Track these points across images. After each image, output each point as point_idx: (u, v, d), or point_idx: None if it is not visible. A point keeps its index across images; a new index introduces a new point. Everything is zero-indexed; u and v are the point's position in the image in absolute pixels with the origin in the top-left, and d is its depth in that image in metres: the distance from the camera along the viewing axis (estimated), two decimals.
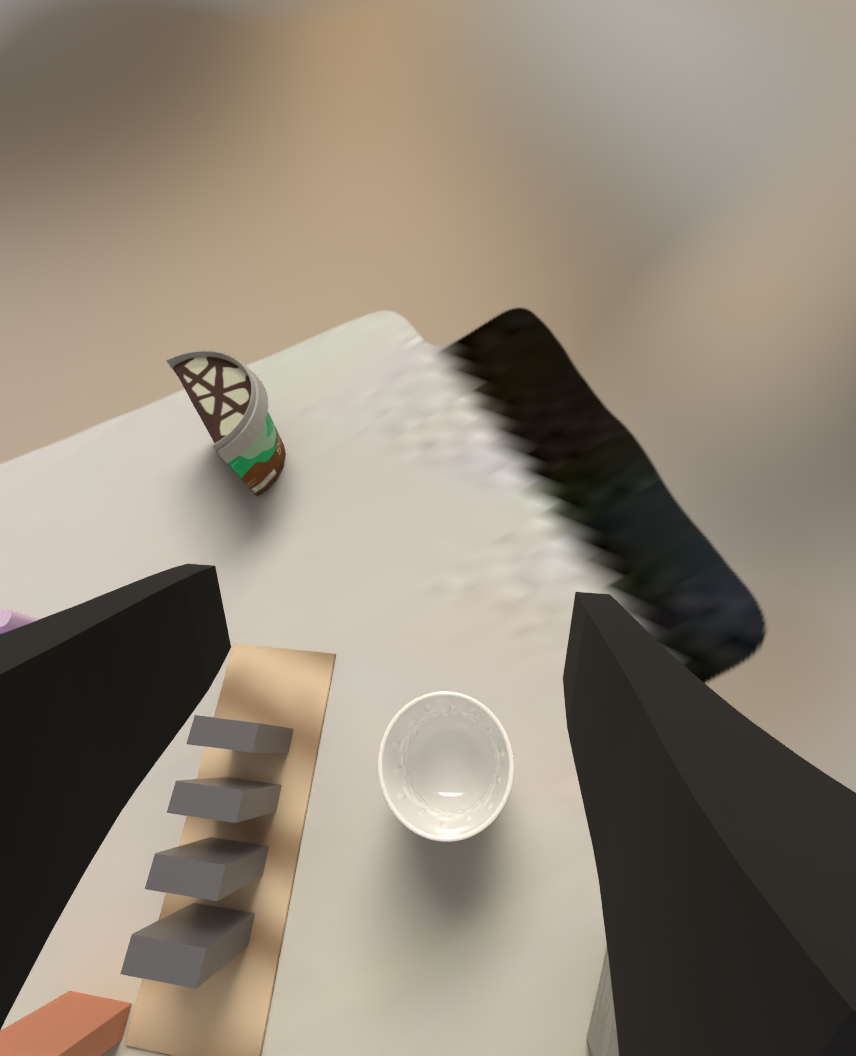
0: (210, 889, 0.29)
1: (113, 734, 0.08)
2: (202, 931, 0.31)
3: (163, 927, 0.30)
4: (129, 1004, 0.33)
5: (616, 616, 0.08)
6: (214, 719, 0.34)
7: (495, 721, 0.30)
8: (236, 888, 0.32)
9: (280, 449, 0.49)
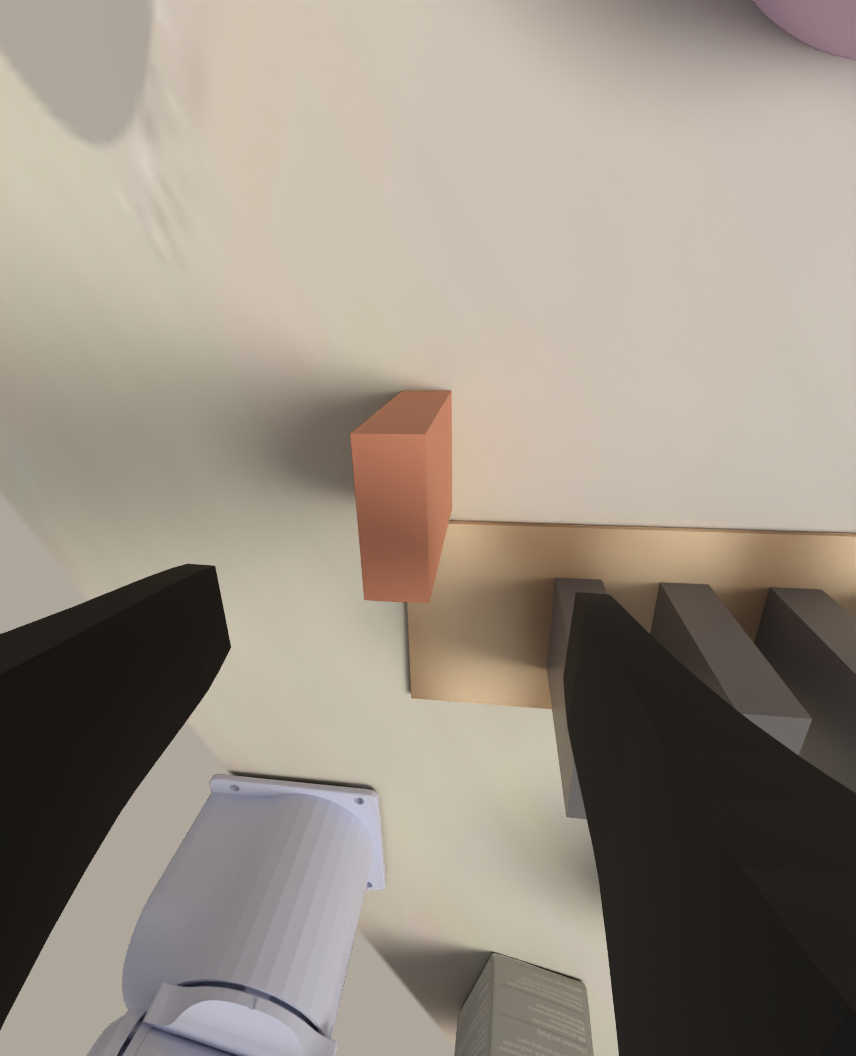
0: None
1: (114, 734, 0.08)
2: None
3: None
4: (451, 509, 0.20)
5: (616, 616, 0.08)
6: None
7: None
8: None
9: None
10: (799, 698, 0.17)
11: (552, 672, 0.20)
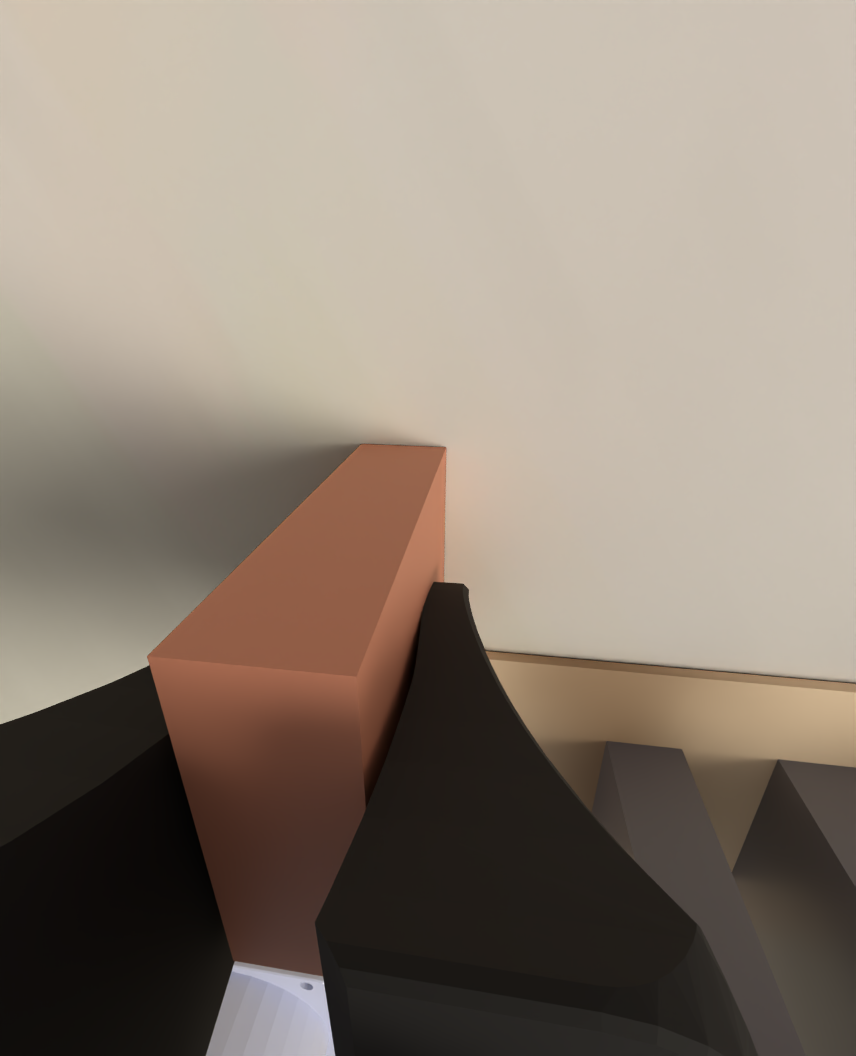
0: None
1: None
2: None
3: None
4: None
5: (449, 603, 0.08)
6: None
7: None
8: None
9: None
10: None
11: None
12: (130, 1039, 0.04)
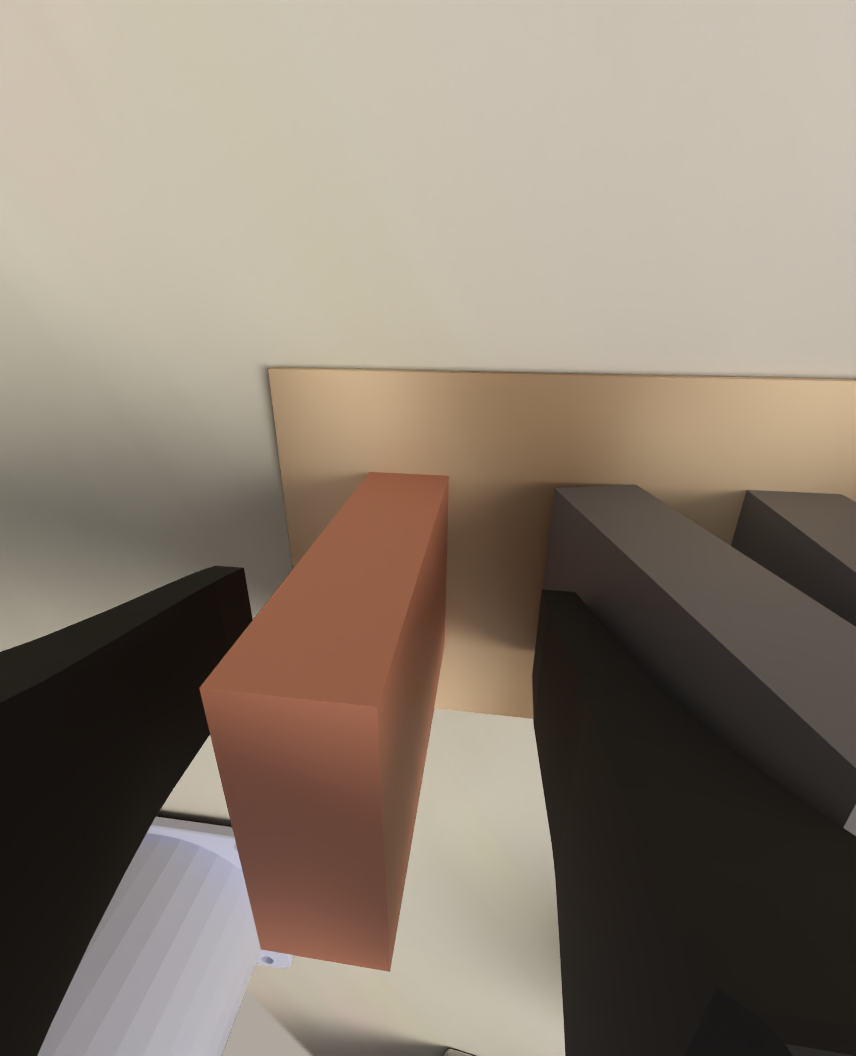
0: None
1: (149, 738, 0.08)
2: None
3: None
4: (443, 646, 0.13)
5: (577, 613, 0.08)
6: None
7: None
8: None
9: None
10: None
11: None
12: None
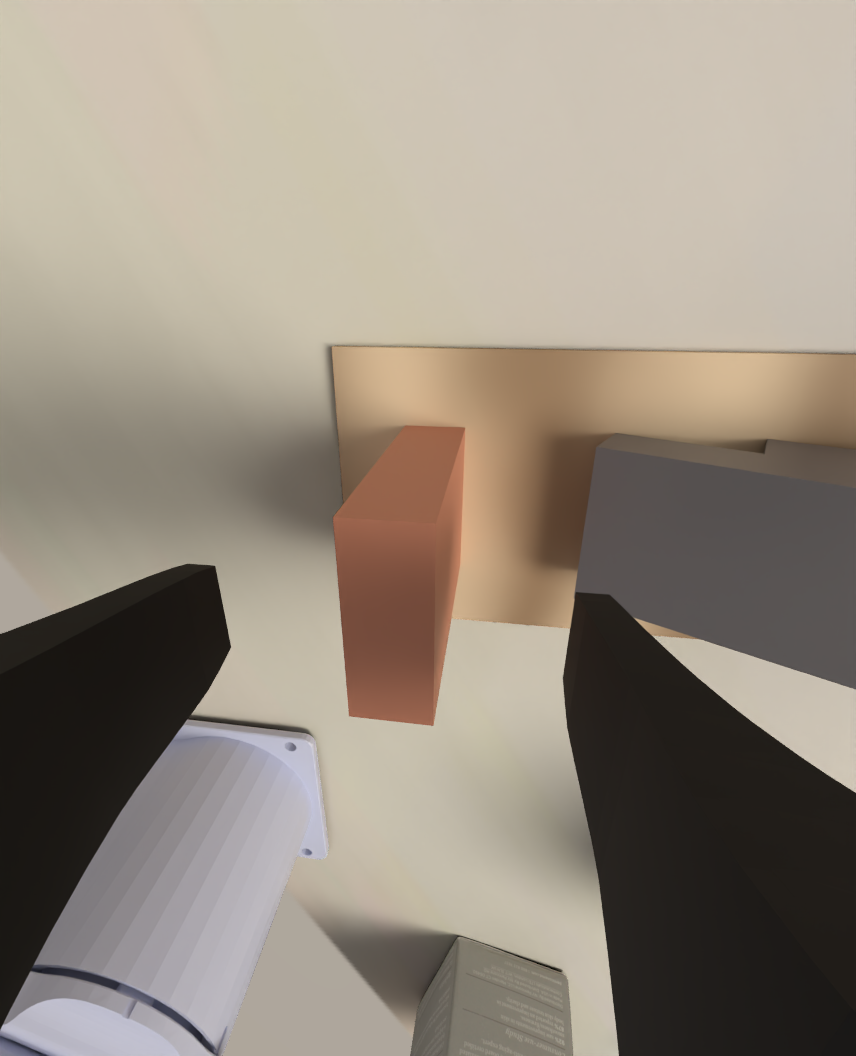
0: None
1: (113, 734, 0.08)
2: None
3: None
4: (459, 564, 0.16)
5: (616, 616, 0.08)
6: None
7: None
8: None
9: None
10: None
11: (636, 580, 0.13)
12: None
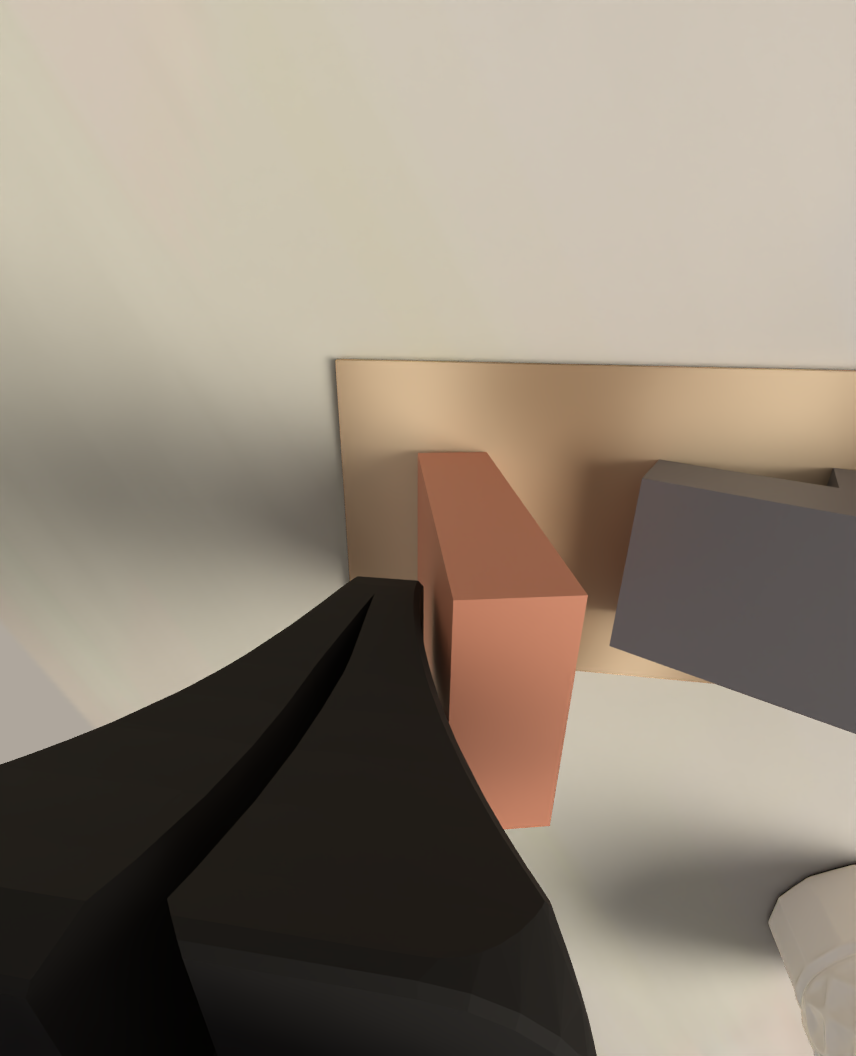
0: None
1: None
2: None
3: None
4: None
5: (398, 599, 0.08)
6: None
7: None
8: None
9: None
10: None
11: (685, 630, 0.12)
12: None
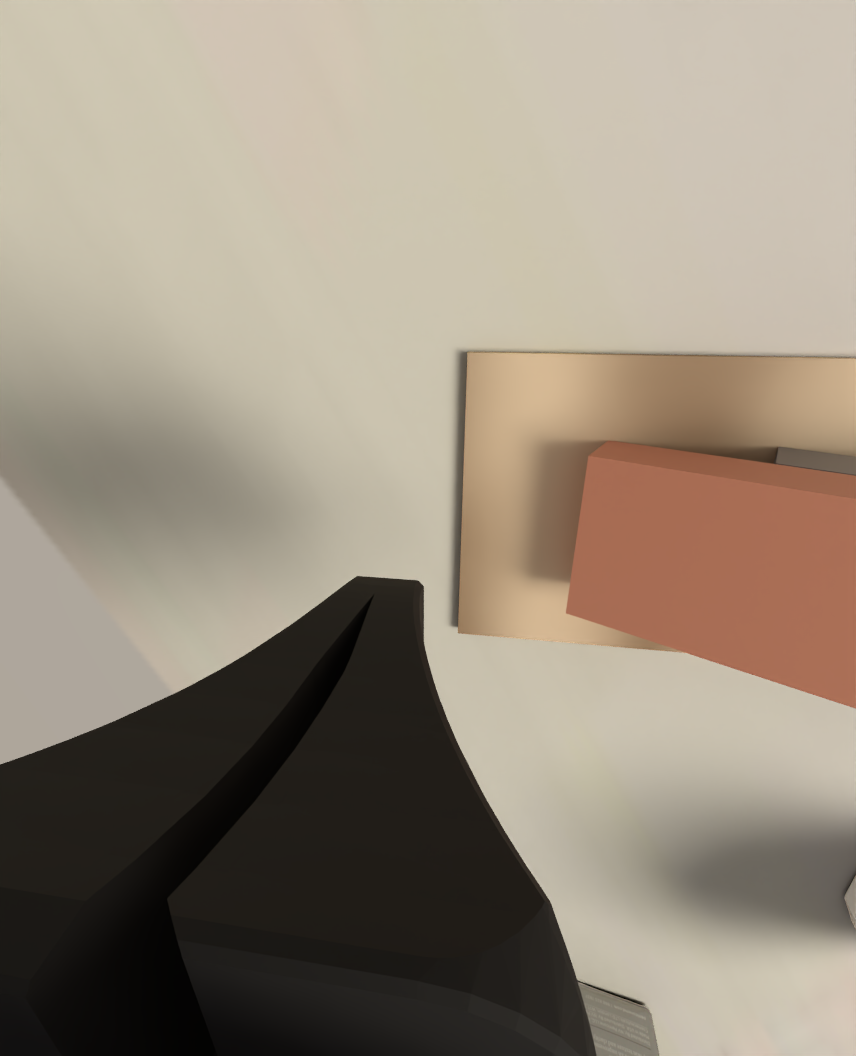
0: None
1: None
2: None
3: None
4: None
5: (398, 599, 0.08)
6: None
7: None
8: None
9: None
10: None
11: None
12: None
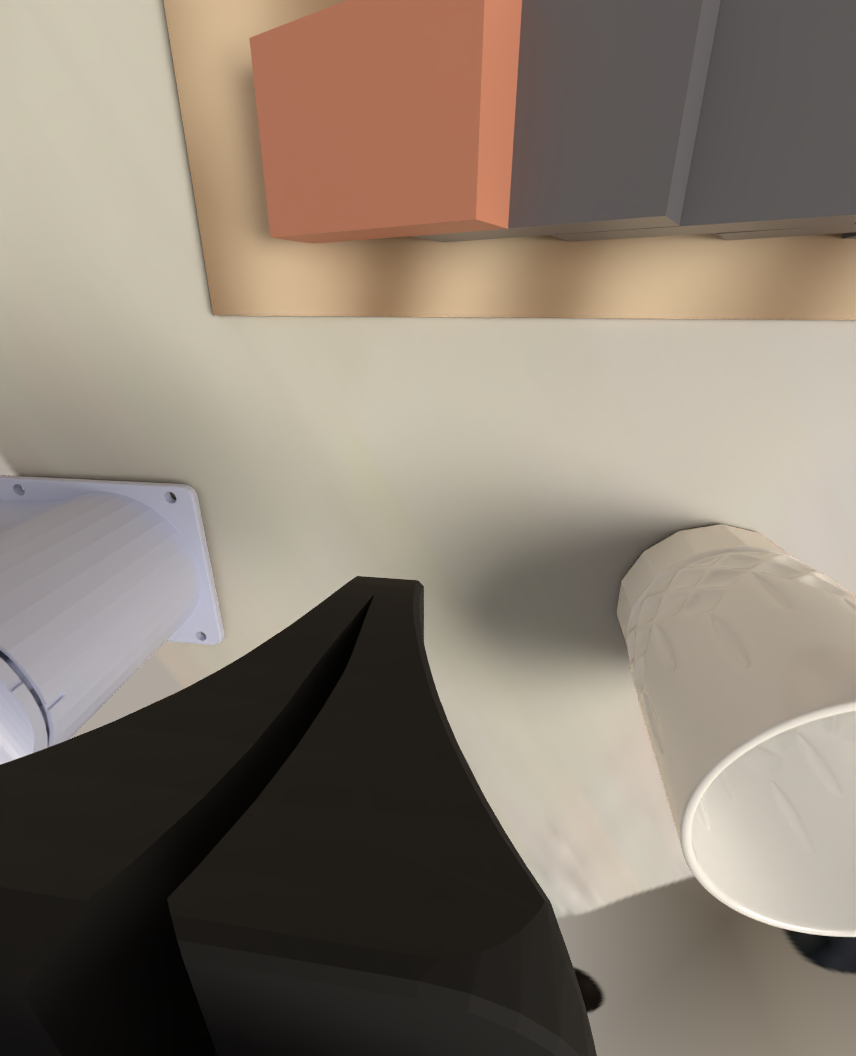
0: None
1: None
2: None
3: None
4: None
5: (398, 599, 0.08)
6: None
7: None
8: (727, 223, 0.12)
9: None
10: None
11: None
12: None
